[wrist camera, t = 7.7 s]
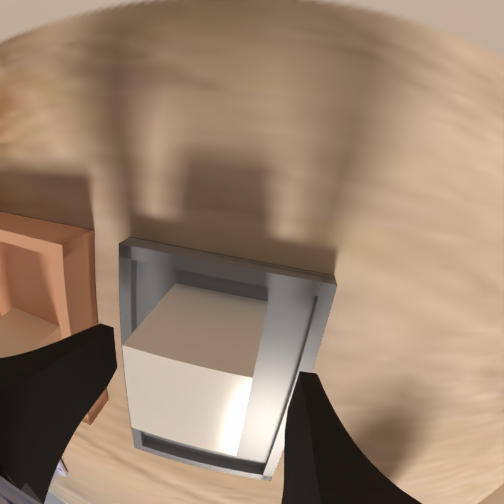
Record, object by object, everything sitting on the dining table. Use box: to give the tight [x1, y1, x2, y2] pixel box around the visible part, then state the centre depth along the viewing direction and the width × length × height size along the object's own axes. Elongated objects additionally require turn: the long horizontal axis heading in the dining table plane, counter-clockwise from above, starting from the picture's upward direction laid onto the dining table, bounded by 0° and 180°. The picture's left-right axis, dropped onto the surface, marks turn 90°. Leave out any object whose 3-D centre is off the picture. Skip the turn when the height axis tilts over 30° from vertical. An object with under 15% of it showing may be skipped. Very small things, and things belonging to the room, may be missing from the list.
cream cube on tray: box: [122, 283, 268, 456], centre depth 12 cm, size 4×4×5 cm
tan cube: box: [0, 307, 62, 358], centre depth 14 cm, size 4×4×5 cm
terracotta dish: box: [0, 212, 108, 425], centre depth 15 cm, size 11×9×2 cm
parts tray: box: [119, 237, 337, 481], centre depth 15 cm, size 14×9×1 cm, turn 172°
